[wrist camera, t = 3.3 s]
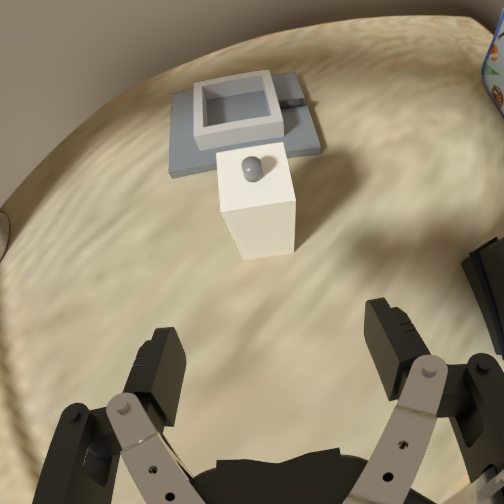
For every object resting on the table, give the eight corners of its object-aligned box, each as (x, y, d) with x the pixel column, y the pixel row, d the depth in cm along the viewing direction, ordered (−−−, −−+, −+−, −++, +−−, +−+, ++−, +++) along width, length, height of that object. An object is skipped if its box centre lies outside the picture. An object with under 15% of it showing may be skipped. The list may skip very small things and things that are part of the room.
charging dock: (172, 178, 32) (160, 159, 28) (175, 99, 36) (166, 80, 33) (320, 153, 31) (322, 131, 27) (295, 78, 35) (294, 57, 31)
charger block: (243, 260, 28) (216, 203, 17) (238, 214, 29) (212, 142, 19) (293, 252, 28) (296, 190, 17) (285, 207, 29) (282, 130, 19)
